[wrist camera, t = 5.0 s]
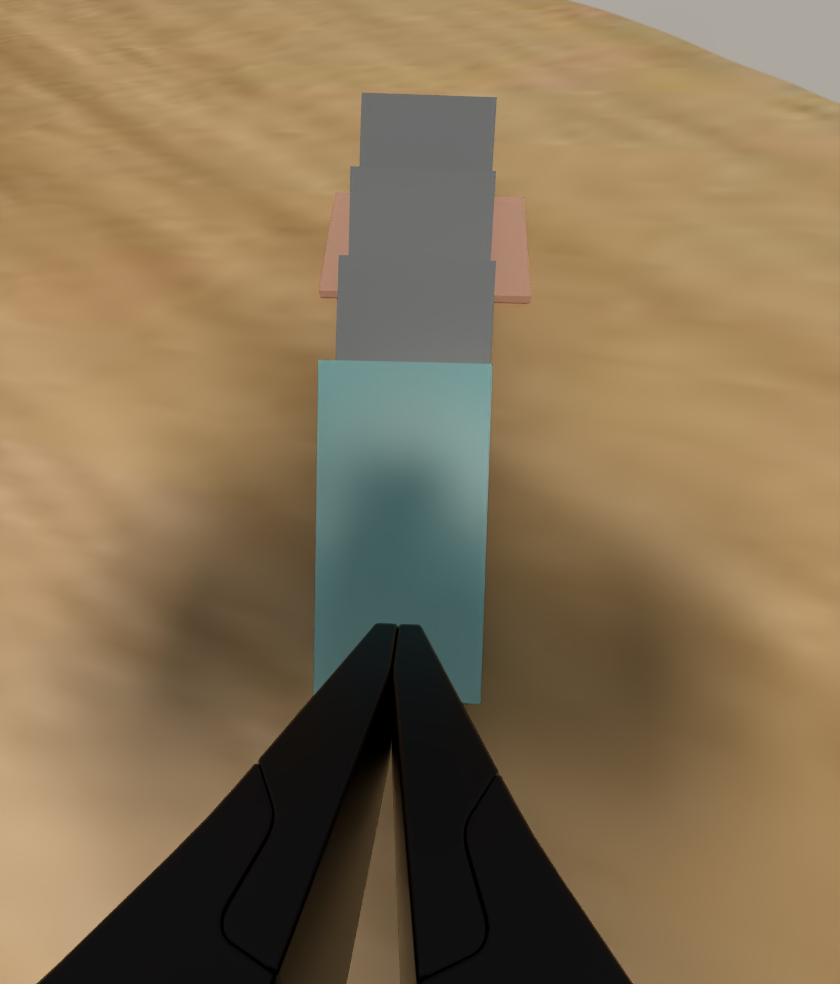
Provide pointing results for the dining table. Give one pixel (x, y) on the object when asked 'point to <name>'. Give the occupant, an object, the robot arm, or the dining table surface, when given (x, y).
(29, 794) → the dining table surface
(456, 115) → the domino
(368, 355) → the domino
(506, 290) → the strip
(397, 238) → the domino
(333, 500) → the domino
